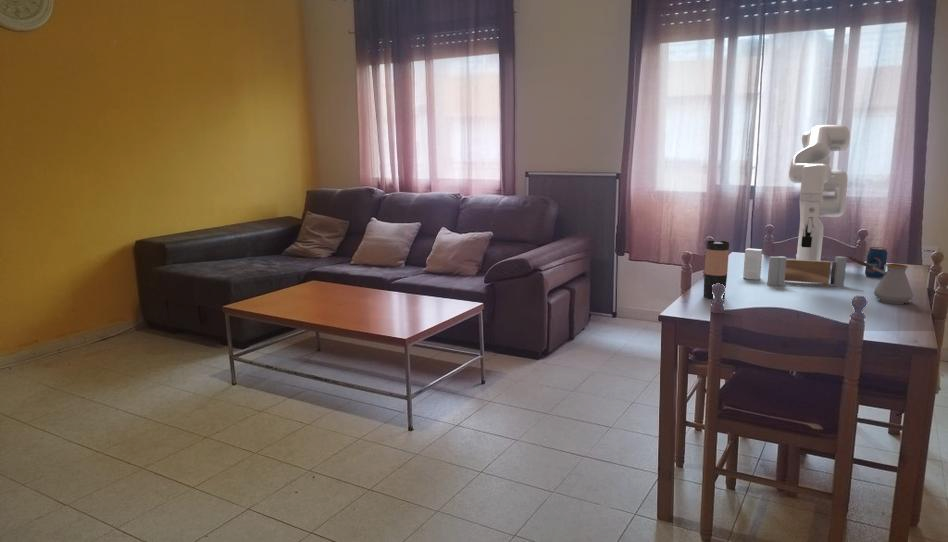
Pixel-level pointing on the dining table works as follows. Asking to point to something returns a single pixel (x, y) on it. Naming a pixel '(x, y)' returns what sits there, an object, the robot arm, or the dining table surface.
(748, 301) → the dining table surface
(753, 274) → the skincare box
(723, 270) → the travel mug
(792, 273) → the door
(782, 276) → the doorframe
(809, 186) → the robot arm
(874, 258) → the soda can
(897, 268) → the coffee pot
